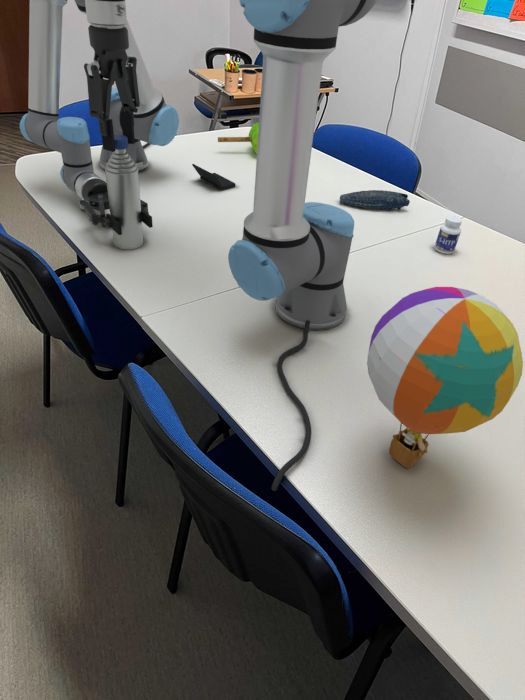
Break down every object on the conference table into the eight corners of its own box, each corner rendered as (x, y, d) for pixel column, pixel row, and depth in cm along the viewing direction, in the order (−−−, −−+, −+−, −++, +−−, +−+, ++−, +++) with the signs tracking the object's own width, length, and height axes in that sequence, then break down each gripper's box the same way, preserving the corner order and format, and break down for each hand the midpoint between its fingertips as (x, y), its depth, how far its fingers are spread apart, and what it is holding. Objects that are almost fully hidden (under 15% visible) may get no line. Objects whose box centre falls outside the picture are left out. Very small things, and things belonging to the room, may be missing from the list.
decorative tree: (215, 117, 188) (295, 117, 193) (215, 147, 195) (292, 146, 200) (221, 131, 174) (307, 131, 180) (221, 163, 181) (304, 161, 186)
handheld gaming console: (239, 179, 164) (224, 157, 156) (229, 197, 163) (213, 176, 155) (213, 174, 171) (197, 153, 162) (202, 192, 169) (186, 171, 161)
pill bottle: (433, 251, 139) (442, 220, 133) (435, 243, 143) (444, 213, 137) (453, 256, 138) (464, 225, 132) (454, 247, 142) (465, 217, 136)
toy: (317, 448, 82) (351, 286, 63) (393, 397, 93) (442, 246, 74) (418, 536, 71) (496, 372, 52) (491, 467, 82) (578, 310, 63)
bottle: (110, 238, 132) (98, 135, 116) (139, 234, 134) (131, 133, 119) (117, 251, 127) (105, 145, 111) (146, 247, 129) (139, 143, 114)
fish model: (408, 214, 157) (412, 198, 153) (339, 207, 158) (341, 191, 154) (406, 206, 162) (410, 190, 159) (339, 199, 163) (341, 183, 160)
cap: (115, 150, 114) (114, 141, 112) (107, 145, 116) (106, 135, 115) (131, 148, 116) (130, 138, 114) (123, 143, 118) (122, 133, 117)
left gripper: (131, 198, 145) (173, 231, 131) (59, 213, 134) (97, 250, 121) (129, 171, 140) (172, 202, 126) (54, 185, 129) (93, 220, 116)
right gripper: (89, 32, 93) (104, 161, 108) (153, 24, 107) (158, 139, 121) (57, 26, 96) (76, 153, 110) (123, 19, 109) (132, 132, 124)
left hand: (135, 225), depth 124 cm, fingers closed on bottle, 7 cm apart
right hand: (119, 146), depth 116 cm, fingers open, 6 cm apart
